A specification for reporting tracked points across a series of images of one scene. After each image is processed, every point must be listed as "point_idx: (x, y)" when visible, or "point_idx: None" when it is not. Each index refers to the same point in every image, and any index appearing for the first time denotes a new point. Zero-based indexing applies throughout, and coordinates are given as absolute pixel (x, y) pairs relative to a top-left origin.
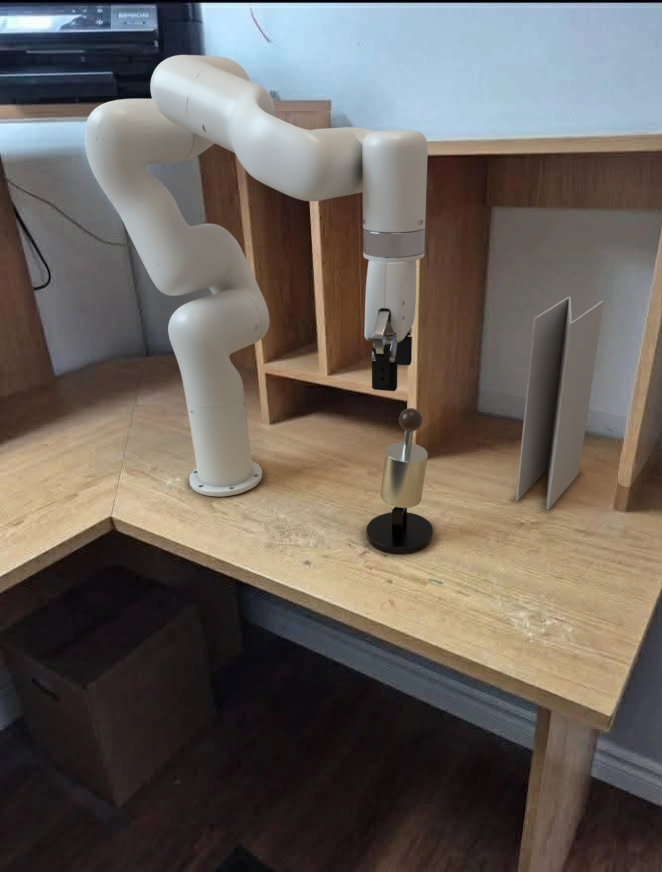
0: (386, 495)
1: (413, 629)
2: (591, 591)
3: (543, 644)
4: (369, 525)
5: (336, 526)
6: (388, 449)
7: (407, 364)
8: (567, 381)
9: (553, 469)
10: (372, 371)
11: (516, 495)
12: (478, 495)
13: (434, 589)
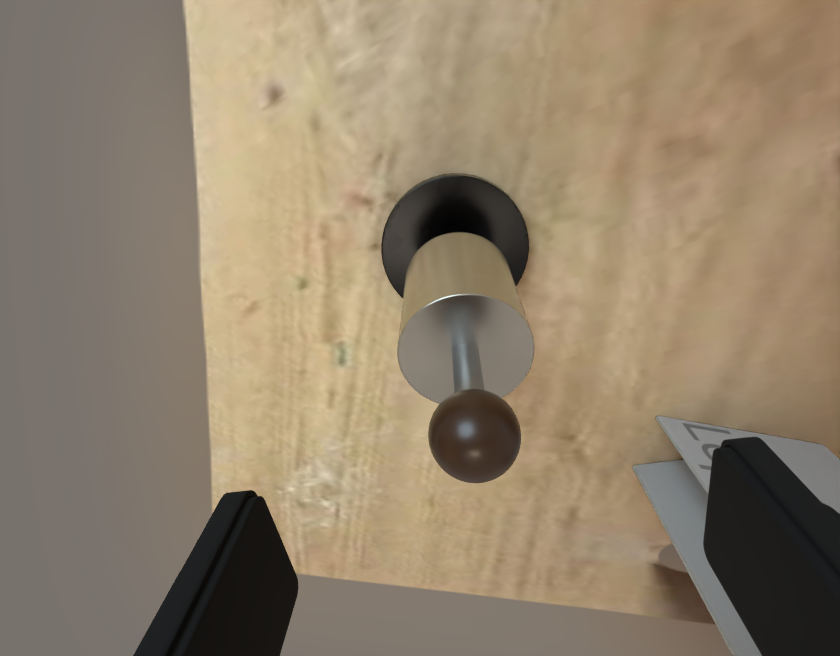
0: (409, 269)
1: (213, 359)
2: (416, 537)
3: (280, 504)
4: (444, 182)
5: (438, 87)
6: (450, 305)
7: (704, 544)
8: None
9: (669, 536)
10: (167, 598)
11: (661, 422)
12: (664, 348)
13: (319, 358)
